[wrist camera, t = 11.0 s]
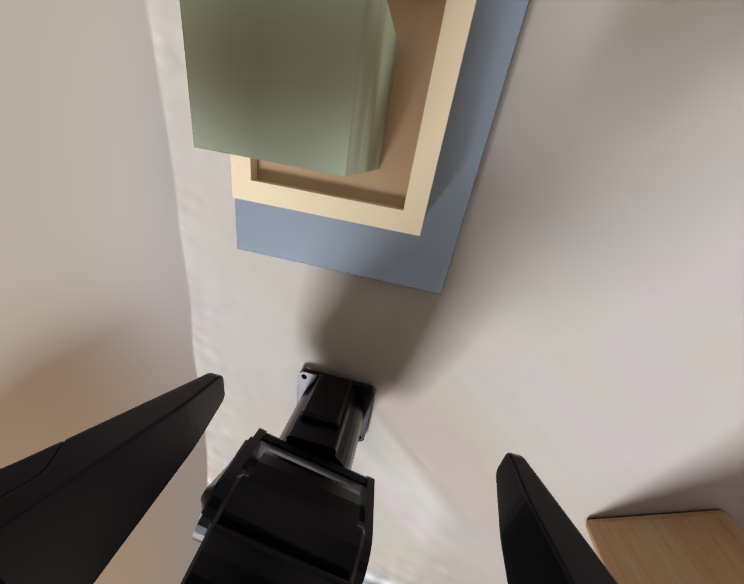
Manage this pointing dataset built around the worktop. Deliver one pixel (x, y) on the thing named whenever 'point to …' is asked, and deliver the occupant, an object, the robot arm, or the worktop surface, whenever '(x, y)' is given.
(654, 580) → the wooden block
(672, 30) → the worktop surface
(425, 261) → the build base
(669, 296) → the worktop surface
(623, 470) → the worktop surface
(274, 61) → the sage block
